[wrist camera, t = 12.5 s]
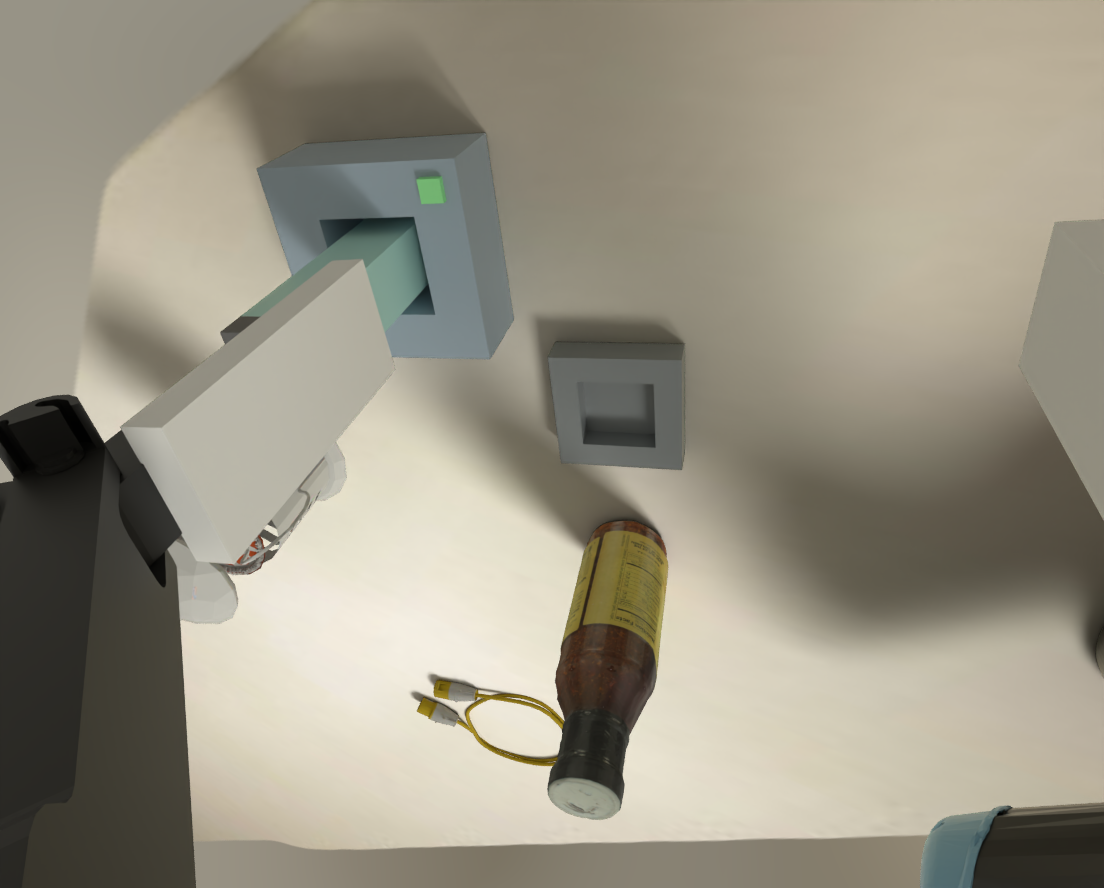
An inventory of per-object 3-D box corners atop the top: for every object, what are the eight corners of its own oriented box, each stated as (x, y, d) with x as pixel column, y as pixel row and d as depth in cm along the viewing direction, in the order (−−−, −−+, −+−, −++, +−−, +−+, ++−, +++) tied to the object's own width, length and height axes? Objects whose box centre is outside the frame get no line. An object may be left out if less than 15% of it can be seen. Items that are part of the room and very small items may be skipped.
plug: (444, 266, 43) (319, 406, 31) (391, 266, 44) (249, 403, 32) (432, 207, 41) (293, 333, 29) (376, 209, 42) (220, 332, 30)
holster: (684, 451, 48) (682, 470, 46) (567, 445, 50) (560, 463, 48) (684, 343, 43) (681, 360, 42) (555, 341, 45) (547, 357, 44)
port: (513, 319, 45) (487, 362, 41) (355, 318, 48) (315, 358, 43) (485, 132, 39) (451, 160, 34) (304, 143, 41) (252, 170, 37)
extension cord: (481, 650, 67) (475, 667, 65) (600, 740, 71) (597, 759, 70) (410, 690, 74) (403, 706, 72) (522, 770, 78) (517, 787, 76)
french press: (206, 421, 57) (-86, 690, 37) (312, 379, 52) (37, 666, 32) (283, 512, 61) (57, 796, 42) (387, 482, 56) (186, 789, 37)
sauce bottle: (615, 583, 57) (558, 838, 41) (572, 528, 54) (495, 777, 39) (689, 562, 54) (658, 830, 38) (648, 502, 51) (596, 762, 36)
